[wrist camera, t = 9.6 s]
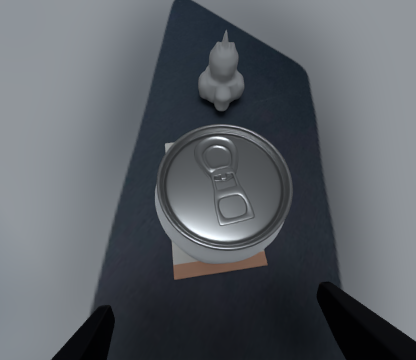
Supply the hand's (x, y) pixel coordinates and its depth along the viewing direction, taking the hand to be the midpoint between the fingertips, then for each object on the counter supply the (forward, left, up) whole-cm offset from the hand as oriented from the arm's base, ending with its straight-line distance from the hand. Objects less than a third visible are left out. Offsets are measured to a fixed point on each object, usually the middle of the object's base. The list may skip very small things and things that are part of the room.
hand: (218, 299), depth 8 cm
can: (+4, -1, -10) cm, 11 cm away
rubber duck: (+20, -4, -10) cm, 23 cm away
